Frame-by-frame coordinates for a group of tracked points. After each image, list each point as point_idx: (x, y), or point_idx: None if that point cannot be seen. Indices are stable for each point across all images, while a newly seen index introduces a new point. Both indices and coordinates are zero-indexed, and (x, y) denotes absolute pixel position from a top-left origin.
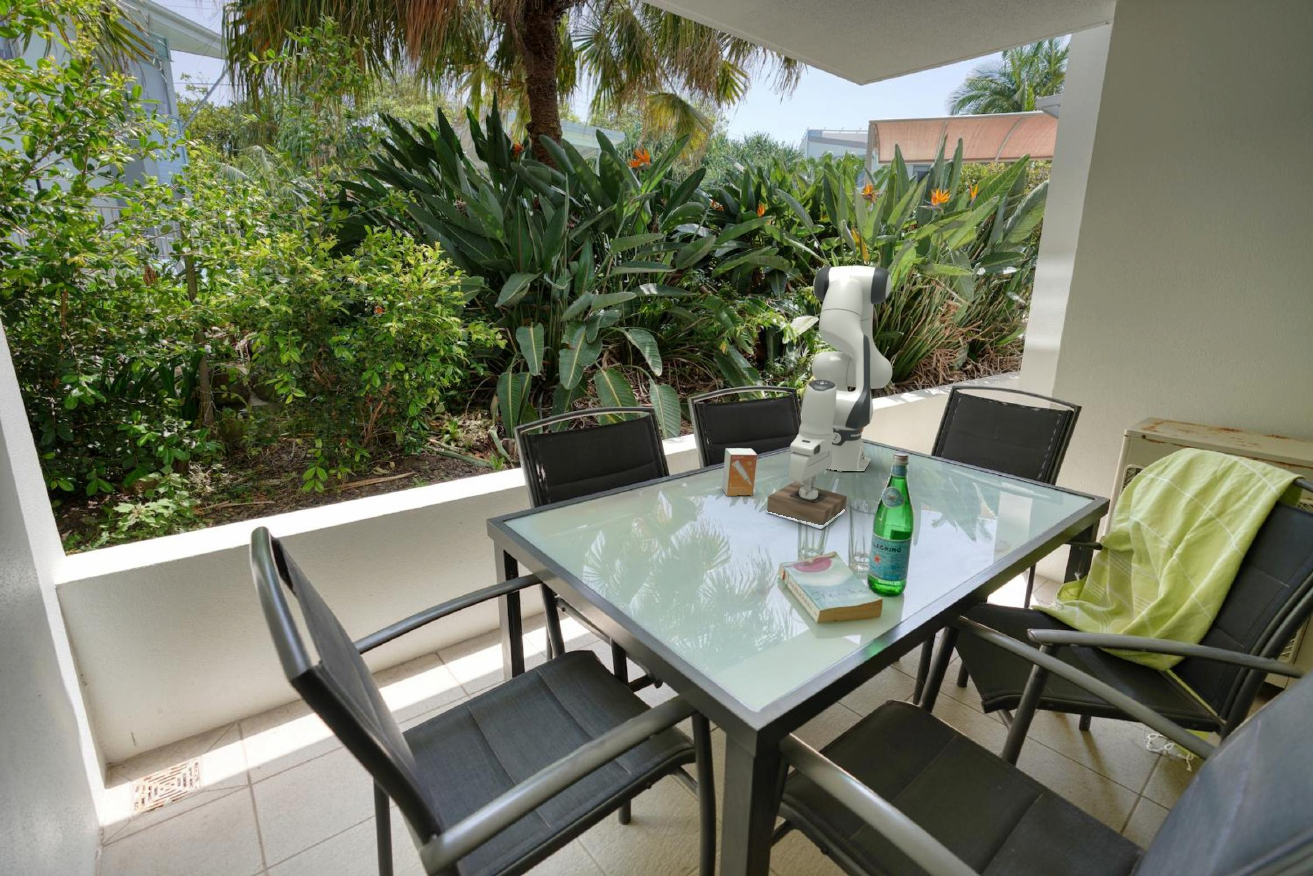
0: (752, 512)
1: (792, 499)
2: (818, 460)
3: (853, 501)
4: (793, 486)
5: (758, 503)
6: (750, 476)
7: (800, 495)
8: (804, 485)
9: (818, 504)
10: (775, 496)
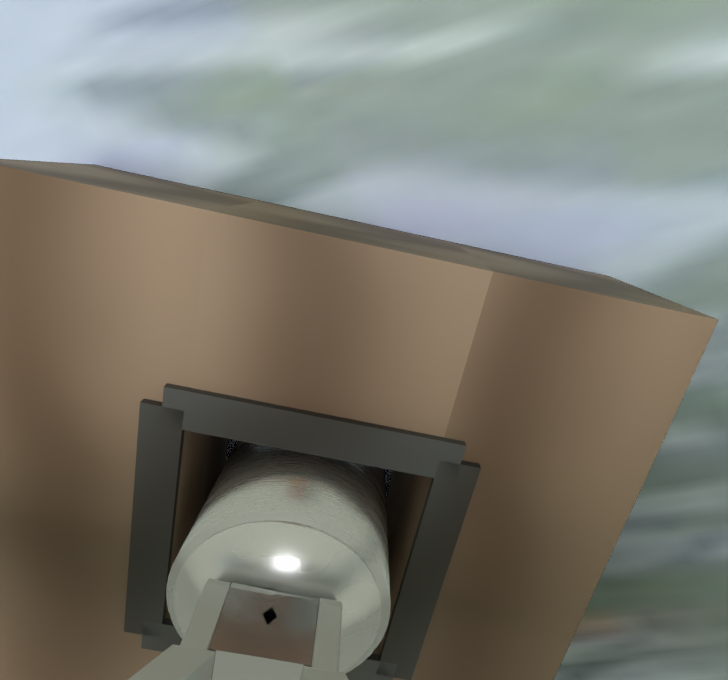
0: (17, 27)
1: (72, 441)
2: None
3: (719, 666)
4: (521, 353)
5: (284, 3)
6: None
7: (210, 501)
8: (186, 630)
9: (127, 658)
10: (15, 246)
